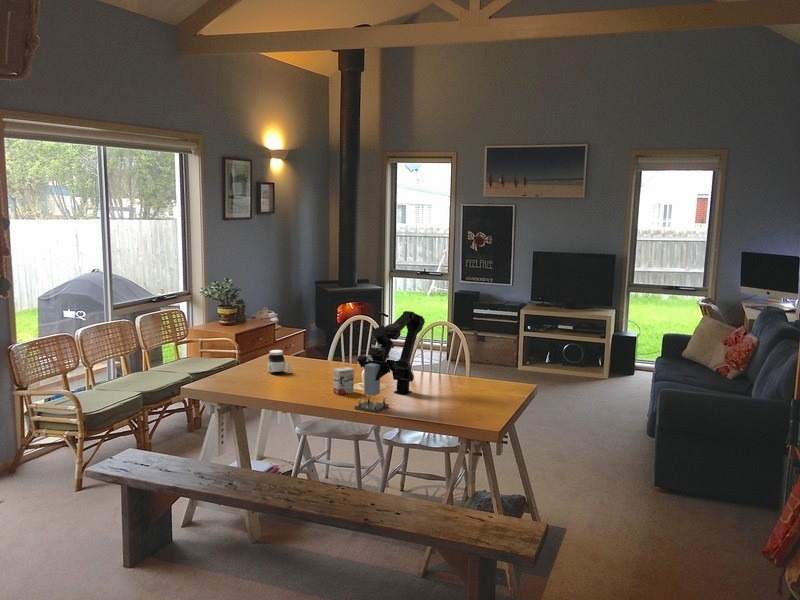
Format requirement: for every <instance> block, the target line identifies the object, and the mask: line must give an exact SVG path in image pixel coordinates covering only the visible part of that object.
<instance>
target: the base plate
mask: <svg viewBox="0 0 800 600" xmlns="http://www.w3.org/2000/svg"><path fill="white" fill-rule="evenodd" d="M370 397H371V395H366V400H365V401H364V402H362V403H361V400H362V399H360V398H358V399H357V405H354V410H357V411H362V410H363V411H364V412H367V411H370V412H369V413H373V412H376V413H375V414H377V412H378V411H379V412H381V411H383V410H385V409H387V408H389V404H388V403H386V397H382V402H377V401H372V400H371V398H370ZM382 409H383V410H382ZM380 410H381V411H380ZM379 412H378V413H379Z"/></svg>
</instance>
